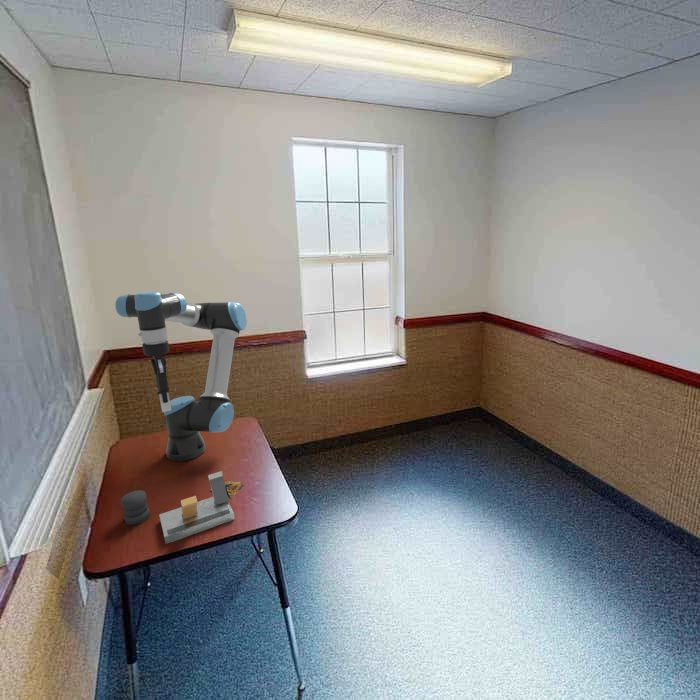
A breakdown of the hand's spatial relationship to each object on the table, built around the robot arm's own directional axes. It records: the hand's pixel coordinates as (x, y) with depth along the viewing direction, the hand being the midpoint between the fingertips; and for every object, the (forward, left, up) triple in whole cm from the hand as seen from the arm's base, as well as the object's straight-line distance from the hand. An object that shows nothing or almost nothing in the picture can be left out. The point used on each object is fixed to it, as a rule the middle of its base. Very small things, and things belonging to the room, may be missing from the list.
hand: (166, 410), depth 138 cm
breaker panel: (+20, +2, -30) cm, 36 cm away
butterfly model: (+8, +15, -31) cm, 36 cm away
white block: (+20, +10, -28) cm, 36 cm away
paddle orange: (+20, 0, -28) cm, 34 cm away
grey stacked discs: (+8, -14, -31) cm, 35 cm away
